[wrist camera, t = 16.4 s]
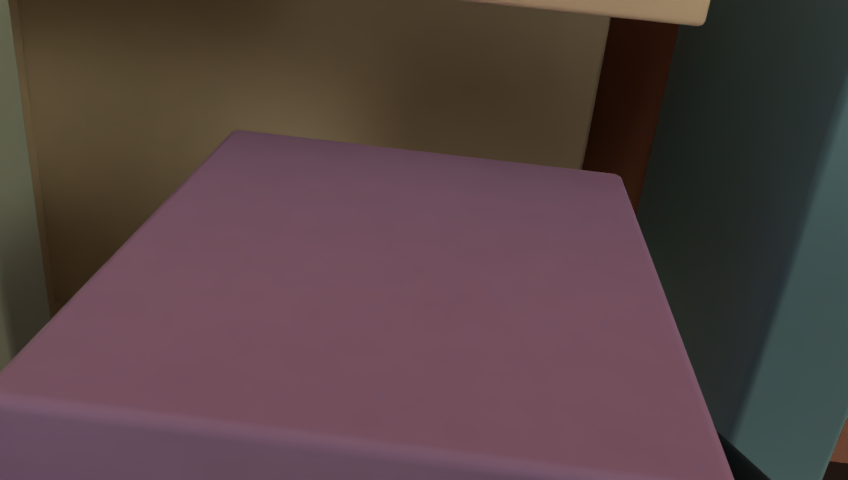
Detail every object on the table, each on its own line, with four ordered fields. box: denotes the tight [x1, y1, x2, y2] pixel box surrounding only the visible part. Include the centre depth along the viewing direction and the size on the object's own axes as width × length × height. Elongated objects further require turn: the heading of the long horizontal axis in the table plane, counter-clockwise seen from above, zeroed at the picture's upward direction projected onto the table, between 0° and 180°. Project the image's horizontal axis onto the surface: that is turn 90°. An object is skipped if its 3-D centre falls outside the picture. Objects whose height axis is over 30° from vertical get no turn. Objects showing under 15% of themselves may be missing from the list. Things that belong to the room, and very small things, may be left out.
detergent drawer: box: [8, 0, 848, 480], centre depth 12 cm, size 18×10×7 cm, turn 85°
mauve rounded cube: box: [0, 130, 734, 480], centre depth 7 cm, size 4×4×5 cm
